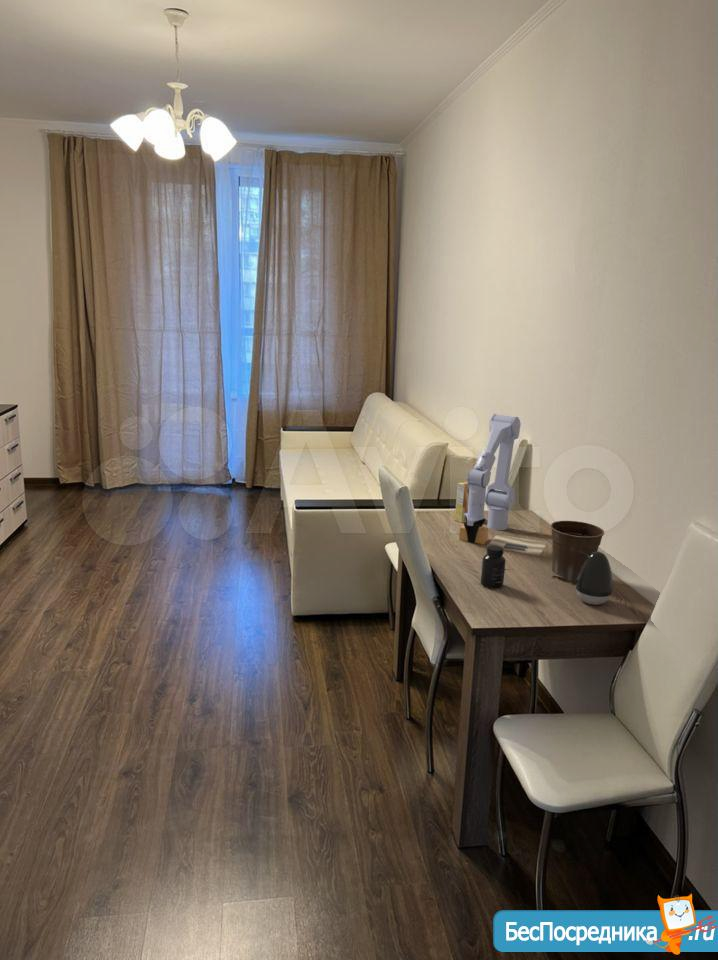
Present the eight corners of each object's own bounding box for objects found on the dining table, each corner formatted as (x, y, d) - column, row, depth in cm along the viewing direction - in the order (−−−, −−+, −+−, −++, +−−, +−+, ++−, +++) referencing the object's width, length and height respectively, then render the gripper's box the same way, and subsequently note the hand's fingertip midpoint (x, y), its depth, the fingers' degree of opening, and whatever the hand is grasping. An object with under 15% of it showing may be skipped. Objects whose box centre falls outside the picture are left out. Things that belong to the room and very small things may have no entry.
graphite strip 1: (506, 543, 258) (506, 542, 257) (526, 547, 255) (526, 545, 255) (505, 545, 256) (505, 543, 256) (525, 548, 254) (526, 546, 254)
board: (496, 538, 268) (496, 534, 268) (546, 546, 262) (547, 542, 261) (486, 550, 254) (486, 546, 254) (539, 559, 247) (539, 555, 247)
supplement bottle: (476, 582, 224) (479, 544, 222) (495, 580, 227) (498, 543, 224) (488, 590, 218) (491, 552, 215) (507, 588, 221) (511, 550, 218)
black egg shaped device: (577, 591, 221) (583, 543, 217) (613, 599, 216) (620, 550, 212) (569, 603, 212) (575, 553, 208) (606, 611, 207) (613, 560, 203)
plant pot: (601, 589, 224) (607, 538, 220) (546, 583, 226) (552, 533, 223) (594, 570, 239) (600, 523, 236) (543, 565, 242) (549, 518, 238)
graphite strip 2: (504, 546, 255) (504, 544, 255) (525, 549, 252) (525, 548, 252) (503, 547, 254) (504, 545, 253) (524, 550, 251) (524, 549, 251)
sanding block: (462, 540, 264) (463, 524, 263) (487, 544, 261) (488, 528, 260) (458, 543, 260) (460, 527, 259) (483, 548, 257) (485, 531, 255)
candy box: (469, 517, 294) (472, 479, 290) (477, 519, 291) (480, 482, 287) (454, 520, 288) (457, 482, 285) (462, 523, 285) (465, 484, 282)
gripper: (470, 496, 265) (467, 532, 268) (459, 506, 252) (456, 544, 255) (489, 499, 262) (486, 536, 266) (480, 509, 249) (476, 547, 253)
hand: (473, 540), depth 260 cm, fingers closed on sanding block, 5 cm apart
